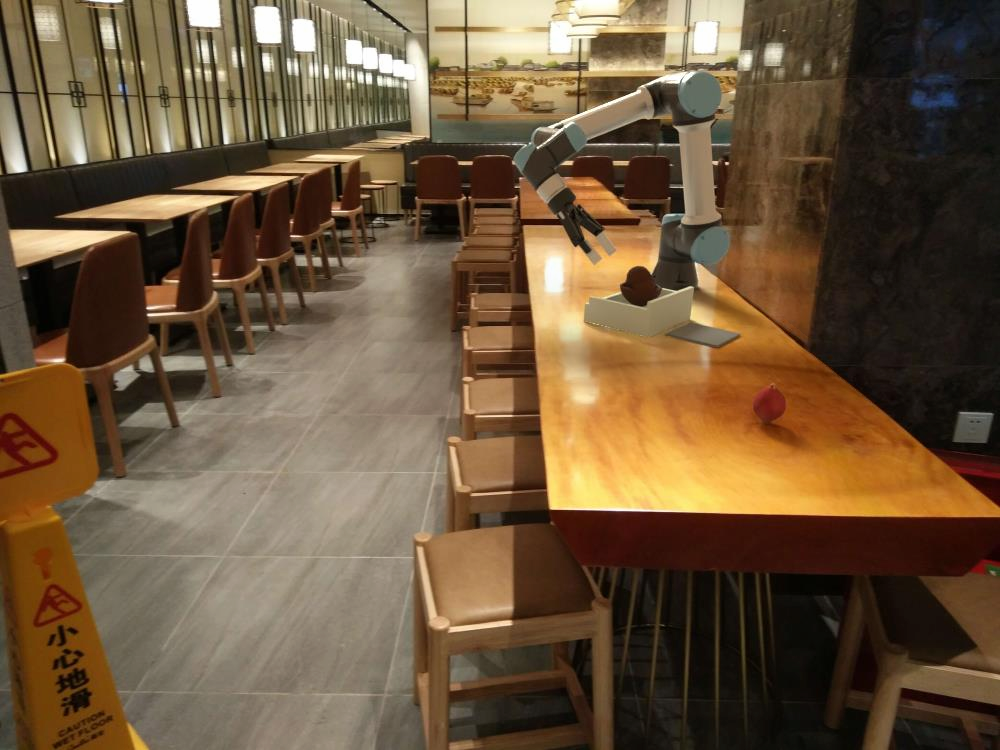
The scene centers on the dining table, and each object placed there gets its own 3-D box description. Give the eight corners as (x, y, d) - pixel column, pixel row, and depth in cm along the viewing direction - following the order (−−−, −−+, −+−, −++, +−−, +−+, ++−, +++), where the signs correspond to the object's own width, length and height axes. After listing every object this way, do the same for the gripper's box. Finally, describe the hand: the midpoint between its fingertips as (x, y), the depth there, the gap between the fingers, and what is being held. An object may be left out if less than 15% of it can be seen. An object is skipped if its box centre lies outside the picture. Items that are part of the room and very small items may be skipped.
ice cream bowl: (658, 327, 195) (664, 271, 189) (615, 324, 197) (620, 268, 191) (658, 316, 205) (664, 263, 199) (617, 313, 206) (622, 260, 201)
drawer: (628, 305, 215) (631, 274, 212) (690, 319, 203) (694, 287, 200) (583, 321, 198) (586, 288, 195) (648, 337, 186) (651, 302, 183)
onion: (744, 416, 141) (751, 377, 138) (774, 416, 142) (781, 377, 139) (757, 429, 136) (764, 388, 133) (787, 429, 136) (795, 388, 133)
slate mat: (690, 324, 199) (690, 322, 198) (740, 335, 190) (740, 333, 190) (665, 335, 188) (665, 333, 188) (717, 347, 180) (717, 345, 180)
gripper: (563, 199, 212) (609, 258, 211) (529, 209, 190) (580, 274, 190) (582, 182, 208) (629, 241, 207) (550, 190, 187) (602, 256, 186)
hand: (606, 257), depth 199 cm, fingers open, 13 cm apart
